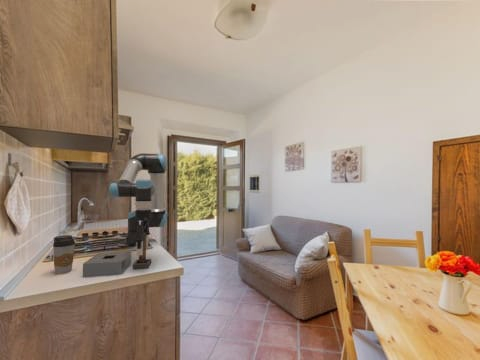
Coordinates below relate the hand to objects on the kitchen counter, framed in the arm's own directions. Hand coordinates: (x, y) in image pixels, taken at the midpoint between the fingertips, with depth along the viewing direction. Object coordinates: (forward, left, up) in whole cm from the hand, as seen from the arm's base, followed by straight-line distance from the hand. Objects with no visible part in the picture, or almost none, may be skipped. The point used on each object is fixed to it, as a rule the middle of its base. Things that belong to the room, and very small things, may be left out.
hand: (142, 251), depth 112 cm
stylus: (0, 0, -8) cm, 8 cm away
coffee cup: (0, -35, -8) cm, 36 cm away
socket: (0, 0, -8) cm, 8 cm away
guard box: (+1, -15, -8) cm, 17 cm away
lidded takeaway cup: (-23, -47, -8) cm, 53 cm away
